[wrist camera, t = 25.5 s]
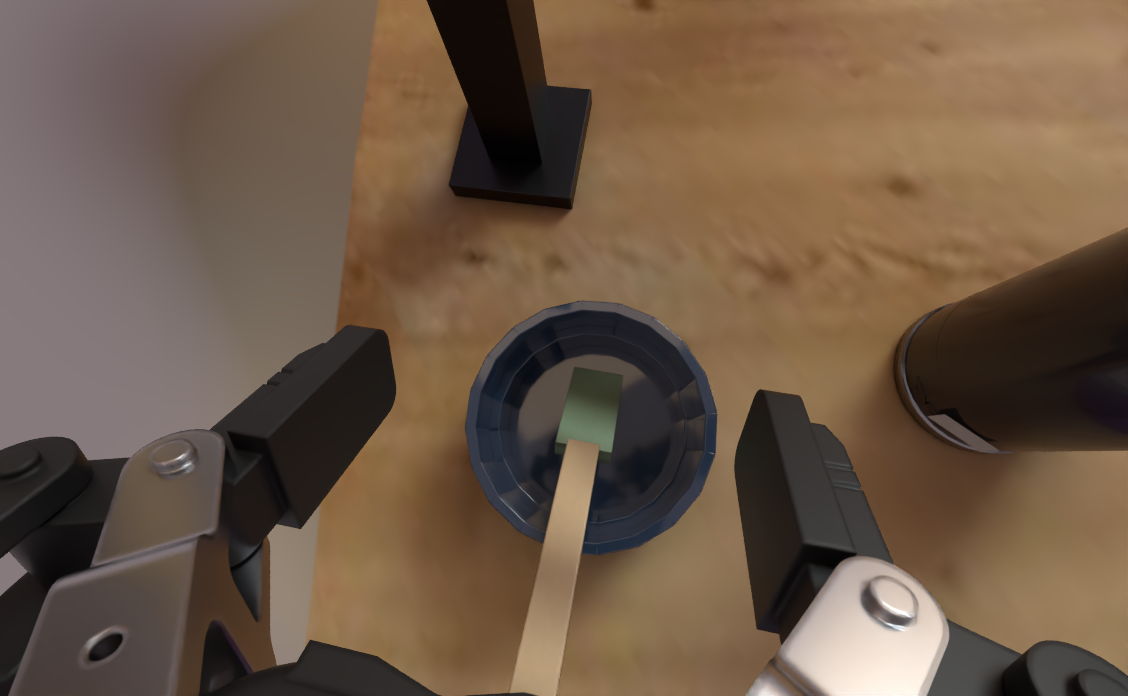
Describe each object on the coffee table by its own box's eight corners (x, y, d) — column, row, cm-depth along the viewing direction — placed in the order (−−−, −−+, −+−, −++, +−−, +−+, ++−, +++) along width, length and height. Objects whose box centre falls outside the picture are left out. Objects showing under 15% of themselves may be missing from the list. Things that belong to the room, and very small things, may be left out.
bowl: (625, 296, 34) (629, 259, 27) (735, 465, 31) (769, 468, 24) (460, 392, 33) (425, 377, 27) (555, 574, 30) (541, 606, 24)
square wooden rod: (547, 870, 16) (549, 872, 15) (456, 844, 16) (449, 843, 15) (621, 387, 32) (624, 368, 30) (573, 378, 32) (574, 359, 31)
